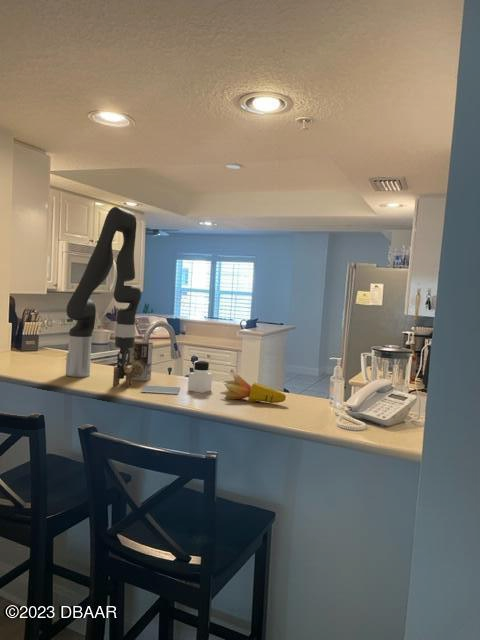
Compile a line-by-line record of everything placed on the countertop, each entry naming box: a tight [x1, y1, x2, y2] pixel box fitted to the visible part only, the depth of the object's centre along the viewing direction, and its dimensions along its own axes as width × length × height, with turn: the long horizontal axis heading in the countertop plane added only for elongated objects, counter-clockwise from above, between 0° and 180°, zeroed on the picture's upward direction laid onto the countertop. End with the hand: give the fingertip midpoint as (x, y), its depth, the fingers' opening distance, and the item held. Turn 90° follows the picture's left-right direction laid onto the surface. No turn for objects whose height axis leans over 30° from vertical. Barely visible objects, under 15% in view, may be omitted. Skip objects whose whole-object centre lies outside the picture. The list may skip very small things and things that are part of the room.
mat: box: [140, 384, 181, 396], centre depth 179 cm, size 14×12×1 cm
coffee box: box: [129, 340, 154, 382], centre depth 198 cm, size 9×6×16 cm
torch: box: [219, 372, 287, 404], centre depth 172 cm, size 8×8×25 cm
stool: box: [112, 364, 132, 389], centre depth 182 cm, size 6×6×8 cm
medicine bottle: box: [187, 360, 213, 394], centre depth 183 cm, size 7×7×12 cm
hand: (122, 376), depth 182 cm, fingers closed on stool, 6 cm apart
